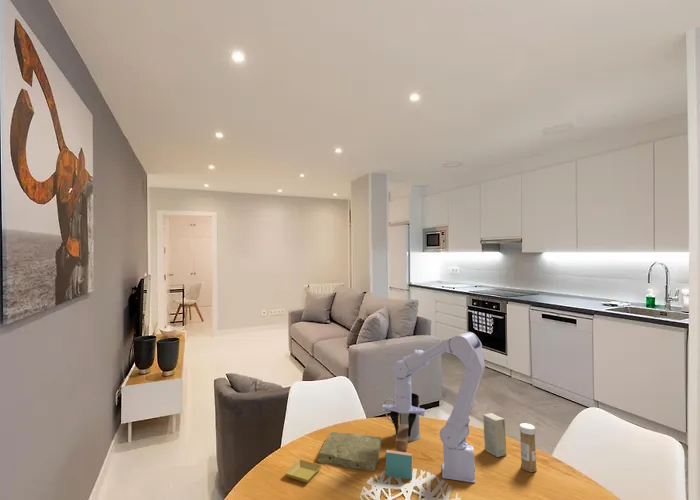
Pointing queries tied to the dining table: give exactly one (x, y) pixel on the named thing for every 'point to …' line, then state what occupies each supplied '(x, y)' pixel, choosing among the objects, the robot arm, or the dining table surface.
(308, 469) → the saucer
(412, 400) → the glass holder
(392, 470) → the glazed tile
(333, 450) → the decorative tile
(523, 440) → the sprinkles bottle
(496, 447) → the skincare box
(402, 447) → the walnut stick
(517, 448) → the dining table surface
